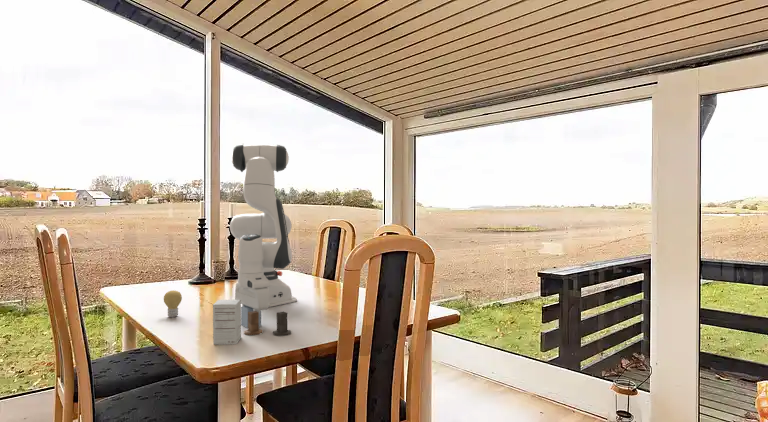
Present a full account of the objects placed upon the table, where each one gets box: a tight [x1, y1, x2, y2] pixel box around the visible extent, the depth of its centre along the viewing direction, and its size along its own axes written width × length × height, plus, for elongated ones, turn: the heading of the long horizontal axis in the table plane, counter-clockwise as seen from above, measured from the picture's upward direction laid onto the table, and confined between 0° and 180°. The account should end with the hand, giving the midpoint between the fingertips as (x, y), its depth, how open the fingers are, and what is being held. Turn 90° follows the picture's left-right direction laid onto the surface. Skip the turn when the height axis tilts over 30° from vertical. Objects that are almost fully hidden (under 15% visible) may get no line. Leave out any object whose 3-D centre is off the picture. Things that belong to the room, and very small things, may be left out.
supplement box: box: [212, 299, 242, 345], centre depth 156 cm, size 7×7×13 cm
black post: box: [272, 311, 292, 337], centre depth 165 cm, size 6×6×7 cm
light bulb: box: [163, 289, 183, 318], centre depth 189 cm, size 6×6×10 cm
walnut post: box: [243, 311, 263, 336], centre depth 166 cm, size 6×6×7 cm
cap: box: [241, 306, 262, 329], centre depth 176 cm, size 5×5×7 cm
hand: (251, 318), depth 176 cm, fingers closed on cap, 5 cm apart
